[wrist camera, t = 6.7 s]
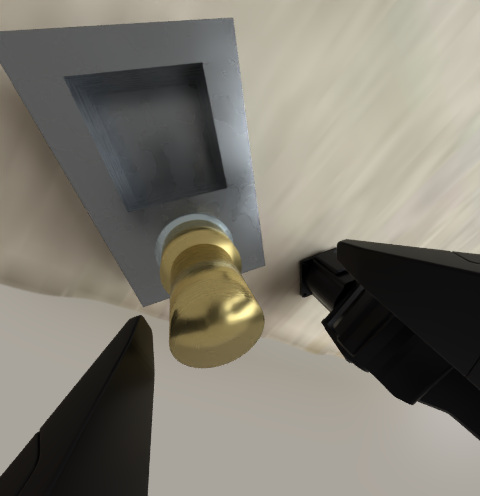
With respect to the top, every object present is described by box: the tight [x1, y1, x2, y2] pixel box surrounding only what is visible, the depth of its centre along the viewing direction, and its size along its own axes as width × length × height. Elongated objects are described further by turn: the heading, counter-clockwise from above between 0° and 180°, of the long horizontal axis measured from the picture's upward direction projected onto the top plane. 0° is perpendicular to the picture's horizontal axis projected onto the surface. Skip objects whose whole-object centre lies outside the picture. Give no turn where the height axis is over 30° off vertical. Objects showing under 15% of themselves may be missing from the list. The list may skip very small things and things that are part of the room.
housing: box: [0, 18, 265, 307], centre depth 15 cm, size 16×11×5 cm
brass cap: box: [160, 220, 264, 368], centre depth 11 cm, size 5×5×8 cm
